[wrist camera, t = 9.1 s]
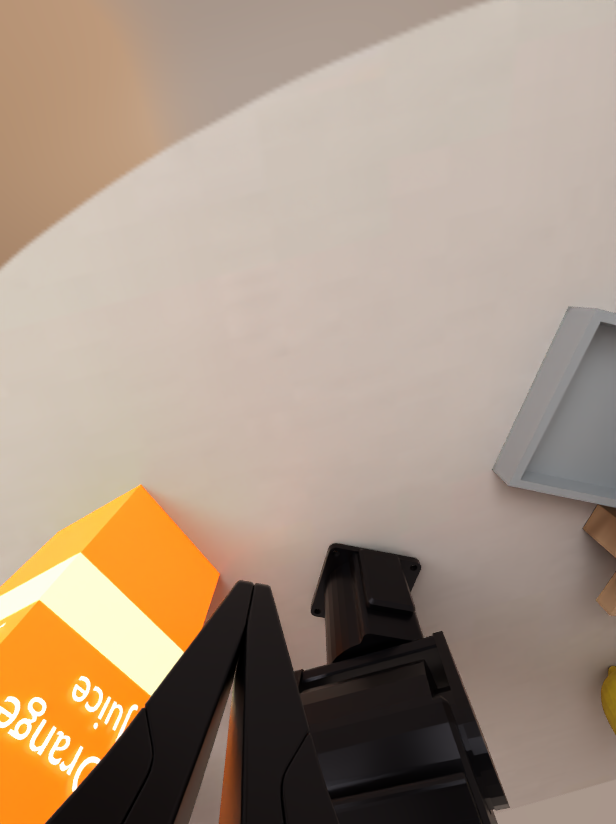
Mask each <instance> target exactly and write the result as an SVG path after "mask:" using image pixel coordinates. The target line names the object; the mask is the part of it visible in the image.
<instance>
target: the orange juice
mask: <svg viewBox="0 0 616 824" xmlns="http://www.w3.org/2000/svg"><path fill="white" fill-rule="evenodd" d="M219 575H220V574H219V573H218V571H217V570H216V569H215V568H214V567H213V566H212V565H211V563H210V562H209V561H208V560H207V559H206V558H205V557H204V556H203V554H202V553H201V552H200V551H199V550H198V549H197V548H196V547H195V545H194V544H193V543H192V542H191V541H190V540H189V539H188V538H187V536H186V535H185V534H184V533H183V532H182V531H181V530H180V528H179V527H178V526H177V525H176V524H175V523H174V522H173V521H172V519H171V518H170V517H169V516H168V515H167V514H166V513H165V512H164V510H163V509H162V508H161V507H160V506H159V505H158V504H157V503H156V501H155V500H154V499H153V498H152V497H151V496H150V495H149V493H148V492H147V491H146V490H145V489H144V488H143V487H142V486H141V485H139V486H138V487H136V488H134V489H132V490H131V491H129V492H127V493H125V494H124V495H122V496H120V497H118V498H117V499H115V500H113V501H112V502H110V503H108V504H106V505H105V506H103V507H101V508H99V509H98V510H96V511H94V512H92V513H91V514H89V515H87V516H85V517H84V518H82V519H80V520H79V521H77V522H75V523H73V524H72V525H70V526H68V527H66V528H65V529H63V530H61V531H59V532H58V533H57V534H56V535H55V536H54V537H53V538H51V539H50V540H49V541H48V542H47V543H46V544H45V545H44V546H43V547H42V548H41V549H40V550H39V551H38V552H37V553H36V554H35V555H34V556H33V557H32V558H30V559H29V560H28V561H27V562H26V563H25V564H24V565H23V566H22V567H21V568H20V569H19V570H18V571H17V572H16V573H15V574H14V575H13V576H12V577H11V578H9V579H8V580H7V581H6V582H5V583H4V584H3V585H2V586H1V587H0V824H45V822H46V821H47V820H48V819H49V818H50V817H51V816H52V815H53V814H54V812H55V811H56V810H57V809H58V808H59V807H60V806H61V805H62V804H63V802H64V801H65V800H66V799H67V798H68V797H69V796H70V795H71V794H72V793H73V791H74V790H75V789H76V788H77V787H78V786H79V785H80V783H81V782H82V781H83V780H84V779H85V778H86V776H87V775H88V774H89V773H90V772H91V771H92V770H93V768H94V767H95V766H96V765H97V764H98V763H99V761H100V760H101V759H102V758H103V757H104V756H105V754H106V753H107V752H108V751H109V749H110V748H111V747H112V746H113V744H114V743H115V742H116V741H117V739H118V738H119V737H120V736H121V734H122V733H123V732H124V730H125V729H126V728H127V727H128V725H129V724H130V723H131V721H132V720H133V719H134V717H135V716H136V715H137V713H138V712H139V711H140V710H141V708H143V707H145V703H146V702H147V701H148V699H149V698H150V697H151V695H152V694H153V693H154V691H155V690H156V689H157V687H158V686H159V685H160V683H161V682H162V681H163V679H164V678H165V677H166V675H167V674H168V673H169V671H170V670H171V669H172V668H173V666H174V665H175V664H176V662H177V661H178V660H179V658H180V657H181V656H182V654H183V653H184V652H185V650H186V649H187V648H188V646H189V645H190V644H191V642H192V641H193V640H194V638H195V637H196V636H197V634H198V633H199V632H200V631H201V629H202V627H203V624H204V621H205V618H206V614H207V611H208V608H209V605H210V602H211V599H212V596H213V593H214V590H215V587H216V584H217V581H218V578H219Z"/></svg>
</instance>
